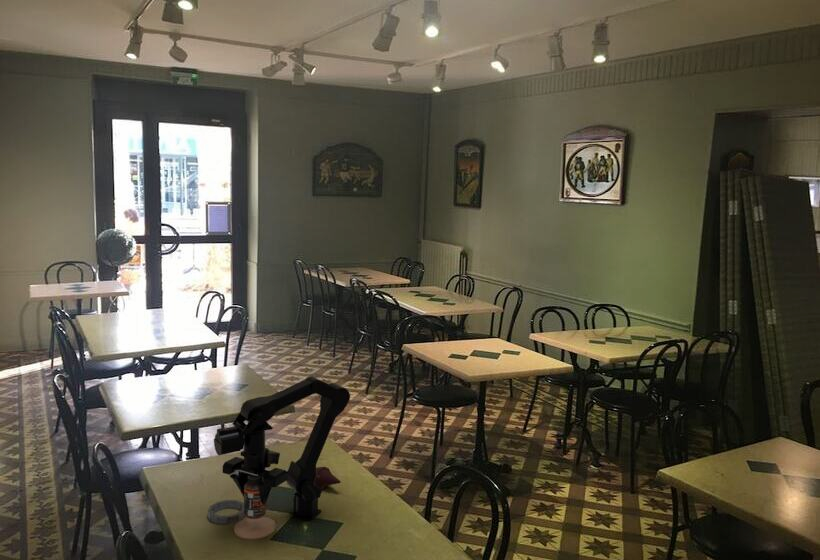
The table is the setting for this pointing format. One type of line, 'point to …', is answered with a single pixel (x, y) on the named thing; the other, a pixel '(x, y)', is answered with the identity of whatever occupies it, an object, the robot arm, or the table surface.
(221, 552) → the table surface
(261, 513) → the supplement bottle
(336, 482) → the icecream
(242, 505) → the cup collar
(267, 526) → the terracotta saucer
